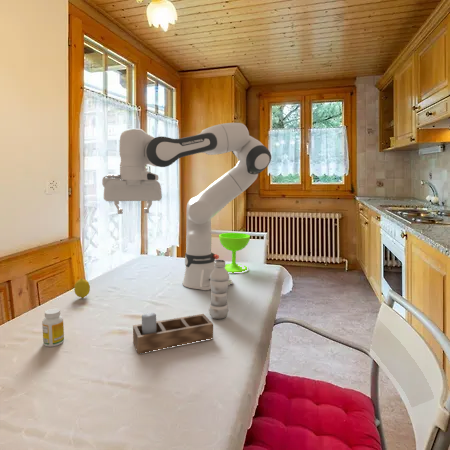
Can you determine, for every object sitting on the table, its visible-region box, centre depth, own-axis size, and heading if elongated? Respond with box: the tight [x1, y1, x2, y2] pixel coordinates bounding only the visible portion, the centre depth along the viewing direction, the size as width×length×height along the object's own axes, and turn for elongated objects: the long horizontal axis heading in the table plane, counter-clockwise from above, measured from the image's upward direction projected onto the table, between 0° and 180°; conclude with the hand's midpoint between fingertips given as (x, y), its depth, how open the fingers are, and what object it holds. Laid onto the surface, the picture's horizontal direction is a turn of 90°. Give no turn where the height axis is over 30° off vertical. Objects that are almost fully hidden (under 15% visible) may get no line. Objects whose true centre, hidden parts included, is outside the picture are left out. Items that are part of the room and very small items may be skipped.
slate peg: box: [141, 312, 157, 335], centre depth 97 cm, size 4×4×8 cm
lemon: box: [73, 277, 91, 299], centre depth 131 cm, size 6×6×8 cm
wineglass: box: [218, 232, 251, 273], centre depth 175 cm, size 16×16×18 cm
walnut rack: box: [132, 313, 214, 355], centre depth 100 cm, size 22×8×5 cm, turn 115°
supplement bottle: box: [41, 307, 65, 348], centre depth 97 cm, size 5×5×10 cm
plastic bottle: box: [208, 259, 230, 320], centre depth 116 cm, size 6×7×20 cm
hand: (133, 213), depth 124 cm, fingers open, 8 cm apart
